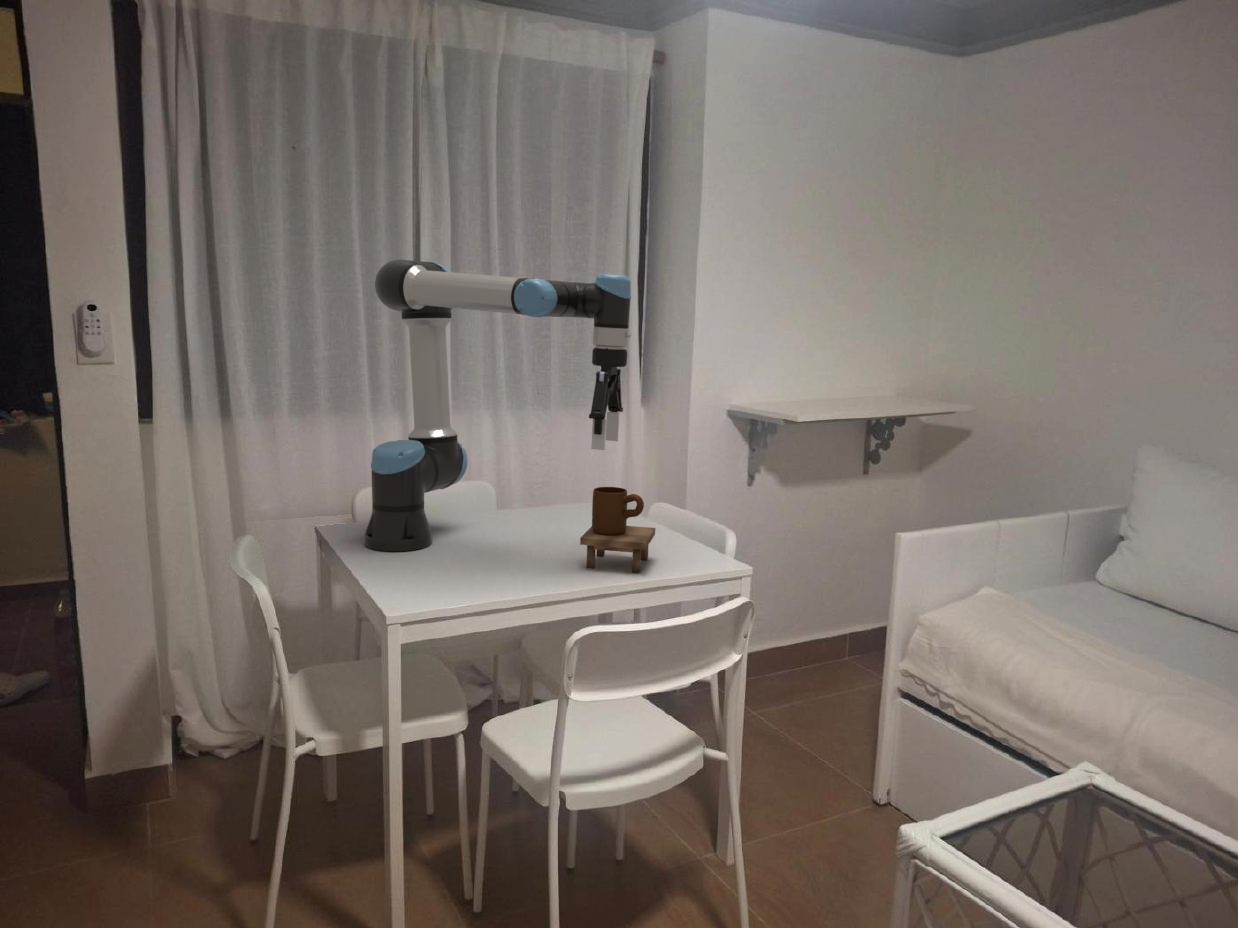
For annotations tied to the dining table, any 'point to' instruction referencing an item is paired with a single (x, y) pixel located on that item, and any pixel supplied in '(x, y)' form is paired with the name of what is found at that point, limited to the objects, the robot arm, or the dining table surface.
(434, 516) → the dining table surface
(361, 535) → the dining table surface
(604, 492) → the mug
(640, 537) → the stool
